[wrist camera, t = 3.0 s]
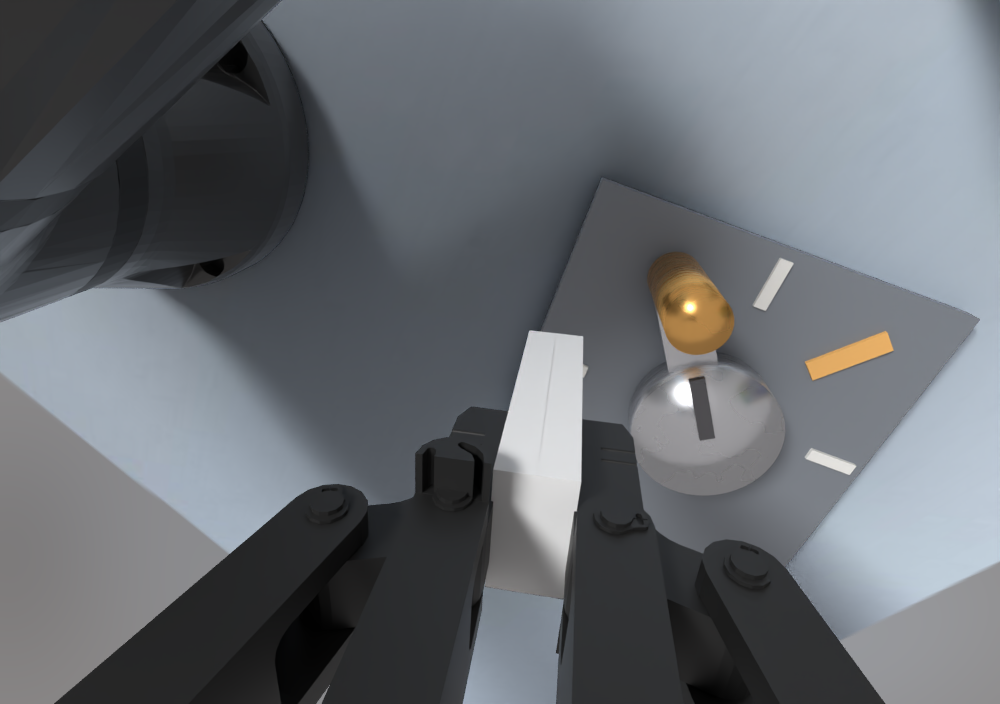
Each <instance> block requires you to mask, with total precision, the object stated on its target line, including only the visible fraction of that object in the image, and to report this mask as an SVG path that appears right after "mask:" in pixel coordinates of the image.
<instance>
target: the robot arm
mask: <svg viewBox="0 0 1000 704" xmlns="http://www.w3.org/2000/svg"><path fill="white" fill-rule="evenodd" d="M280 1H282V0H0V322H3V321H5V320H8V319H11V318H13V317H16V316H19V315H21V314H24V313H27V312H30V311H32V310H35V309H38V308H40V307H43V306H46V305H48V304H51V303H54V302H56V301H59V300H61V299H63V298H66V297H69V296H72V295H74V294H77V293H80V292H83V291H86V290H88V289H91V288H149V289H180V288H190V287H197V286H202V285H206V284H210V283H213V282H217V281H219V280H222V279H224V278H227V277H229V276H231V275H233V274H235V273H237V272H239V271H242V270H244V269H246V268H248V267H250V266H252V265H253V264H255V263H257V262H258V261H260V260H261V259H263V258H264V257H265V256H266V255H268V254H269V253H270V252H271V251H272V250H273V249H274V248H275V247H276V246H277V245H278V244H279V243H280V242H281V240H282V239H283V238H284V236H285V235H286V234H287V232H288V231H289V229H290V227H291V225H292V224H293V222H294V220H295V218H296V215H297V213H298V211H299V208H300V205H301V202H302V199H303V195H304V191H305V187H306V181H307V174H308V160H309V156H308V135H307V128H306V121H305V116H304V112H303V107H302V103H301V100H300V96H299V93H298V90H297V87H296V84H295V81H294V79H293V77H292V74H291V72H290V69H289V67H288V65H287V63H286V61H285V59H284V57H283V55H282V53H281V51H280V49H279V48H278V46H277V44H276V42H275V41H274V39H273V38H272V36H271V35H270V33H269V31H268V30H267V29H266V27H265V26H264V25H263V23H262V22H261V20H262V19H263V18H264V17H265V16H266V15H267V14H268V13H269V12H270V11H271V10H272V9H273V8H274V7H275V6H276V5H277V4H278V3H279V2H280ZM582 388H583V336H576V335H567V334H558V333H549V332H540V331H531V330H529V334H528V338H527V342H526V345H525V349H524V353H523V357H522V361H521V365H520V368H519V372H518V376H517V380H516V384H515V388H514V392H513V395H512V399H511V403H510V407H509V411H502V410H494V409H486V408H478V407H470V408H469V409H467V410H466V411H465V412H463V413H462V414H461V415H459V416H458V418H457V420H456V422H455V425H454V427H453V430H452V432H451V434H450V437H446V438H441V439H436V440H433V441H431V442H429V443H427V444H425V445H423V446H422V447H421V448H420V449H419V450H418V451H417V452H416V453H415V495H414V497H413V498H411V499H408V500H405V501H402V502H397V503H391V504H381V505H369V506H368V500H367V499H366V497H365V496H364V495H363V493H362V492H361V491H359V490H357V489H355V488H353V487H352V486H346V485H340V484H333V485H322V486H319V487H316V488H313V489H310V490H307V491H306V492H304V493H303V494H301V495H299V496H298V497H296V498H295V499H294V500H293V501H291V502H290V503H289V504H288V505H287V506H286V507H284V508H283V509H282V510H281V511H280V512H279V513H277V514H276V515H275V516H274V517H273V518H272V519H270V520H269V521H268V522H267V523H266V524H264V525H263V526H262V527H261V528H260V529H259V530H257V531H256V532H255V533H254V534H253V535H252V536H250V537H249V538H248V539H247V540H246V541H245V542H243V543H242V544H241V545H240V546H239V547H237V548H236V549H235V550H234V551H233V552H232V553H230V554H229V555H228V556H227V557H226V558H225V559H223V560H222V561H221V562H220V563H219V564H218V565H216V566H215V567H214V568H213V569H212V570H210V571H209V572H208V573H207V574H206V575H205V576H203V577H202V578H201V579H200V580H199V581H198V582H197V583H195V584H194V585H193V586H192V587H190V588H189V589H188V590H187V591H186V592H185V593H183V594H182V595H181V596H180V597H179V598H178V599H176V600H175V601H174V602H173V603H172V604H171V605H169V606H168V607H167V608H166V609H165V610H163V611H162V612H161V613H160V614H159V615H158V616H156V617H155V618H154V619H153V620H152V621H151V622H149V623H148V624H147V625H146V626H145V627H144V628H142V629H141V630H140V631H139V632H138V633H136V634H135V635H134V636H133V637H132V638H131V639H129V640H128V641H127V642H126V643H125V644H124V645H122V646H121V647H120V648H119V649H118V650H117V651H115V652H114V653H113V654H112V655H111V656H110V657H109V658H107V659H106V660H105V661H104V662H103V663H101V664H100V665H99V666H98V667H97V668H95V669H94V670H93V671H92V672H91V673H90V674H88V675H87V676H86V677H85V678H84V679H82V681H80V682H79V683H78V684H77V685H76V686H74V687H73V688H72V689H71V690H70V691H68V692H67V693H66V694H65V695H64V696H63V697H61V698H60V699H59V700H58V701H57V702H56V703H54V704H316V703H317V701H318V700H319V699H320V697H321V696H322V694H323V693H324V692H325V691H326V689H327V688H328V686H329V685H330V686H329V688H328V691H327V693H326V695H325V697H324V700H323V702H322V704H462V703H463V699H464V694H465V689H466V684H467V679H468V674H469V669H470V665H471V660H472V655H473V650H474V645H475V640H476V636H477V631H478V626H479V621H480V616H481V611H482V597H483V588H484V584H485V587H489V588H496V589H502V590H508V591H514V592H520V593H526V594H533V595H539V596H545V597H551V598H557V599H564V604H563V610H562V617H561V624H560V630H559V637H558V643H557V650H556V653H557V654H559V660H558V679H557V697H556V704H885V703H884V701H883V700H882V699H881V697H880V696H879V695H878V693H877V692H876V690H874V688H873V687H872V685H871V684H870V682H869V681H868V680H867V678H866V677H865V675H864V674H863V673H862V671H861V670H860V669H859V667H858V666H857V665H856V663H855V662H854V660H853V659H852V658H851V656H850V655H849V654H848V652H847V651H846V650H845V648H844V647H843V645H842V644H841V643H840V641H839V640H838V639H837V637H836V636H835V635H834V633H833V632H832V630H831V629H830V628H829V626H828V625H827V624H826V622H825V621H824V620H823V618H822V617H821V615H820V614H819V613H818V611H817V610H816V609H815V607H814V606H813V605H812V603H811V602H810V600H809V599H808V598H807V596H806V595H805V594H804V592H803V591H802V590H801V588H800V587H799V586H798V584H797V583H796V581H795V580H794V579H793V577H792V576H791V575H790V573H789V572H788V571H787V569H786V568H785V567H784V566H783V565H782V564H781V563H780V562H779V561H778V560H777V559H776V558H775V557H774V556H772V555H771V554H769V553H768V552H766V551H764V550H763V549H761V548H760V547H757V546H754V545H752V544H749V543H746V542H743V541H737V540H728V539H725V540H720V541H715V542H713V543H711V544H710V545H709V546H707V547H706V548H705V550H704V553H700V552H698V551H695V550H692V549H690V548H687V547H685V546H682V545H680V544H678V543H676V542H673V541H671V540H669V539H668V538H666V537H665V536H663V535H662V534H660V533H659V532H658V531H657V530H656V529H655V525H654V523H653V521H652V519H651V516H650V515H649V514H648V513H647V512H646V511H645V510H644V508H643V501H642V494H641V488H640V481H639V474H638V467H637V460H636V455H635V446H634V439H633V437H632V435H631V434H630V433H629V432H628V431H627V429H626V428H625V427H624V426H623V424H616V423H608V422H601V421H593V420H585V419H582ZM485 579H486V581H485Z"/></svg>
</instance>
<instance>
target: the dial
mask: <svg viewBox="0 0 1000 704" xmlns="http://www.w3.org/2000/svg"><path fill="white" fill-rule="evenodd" d="M647 282H648V287H649V290H650V292H651V295H652V298H653V301H654V305H655V310H656V315H657V320H658V326H659V331H660V336H661V341H662V346H663V351H664V356H665V362H663V363H661V364H660V365H658V366H657V367H655V368H654V369H652V370H651V371H650V372H649V373H648V374H647V375H646V376H645V377H644V378H643V379H642V380H641V381H640V383H639V384H638V386H637V387H636V389H635V391H634V393H633V395H632V397H631V400H630V403H629V409H628V422H629V429H630V434H631V435H632V437H633V439H634V446H635V455H636V459H637V461H638V463H639V464H640V466H641V467H642V469H643V470H644V471H645V472H646V473H647V474H648V475H649V476H650V477H651V478H652V479H653V480H655V481H656V482H658V483H659V484H661V485H662V486H665V487H667V488H669V489H671V490H674V491H677V492H680V493H684V494H690V495H702V496H708V495H718V494H723V493H728V492H731V491H734V490H737V489H739V488H742V487H744V486H746V485H748V484H750V483H752V482H753V481H755V480H756V479H758V478H759V477H760V476H761V475H763V474H764V473H765V472H766V471H767V470H768V469H769V468H770V467H771V465H772V464H773V463H774V461H775V460H776V458H777V457H778V455H779V453H780V451H781V449H782V446H783V442H784V437H785V421H784V416H783V413H782V410H781V408H780V406H779V404H778V402H777V400H776V399H775V397H774V396H773V394H772V393H771V391H770V390H769V388H768V387H767V385H766V384H765V382H764V381H763V379H762V378H761V377H760V375H759V374H758V373H757V372H756V371H755V370H754V369H753V368H751V367H750V366H749V365H747V364H746V363H744V362H742V361H740V360H738V359H736V358H734V357H731V356H728V355H724V354H720V353H716V349H718V348H719V347H721V346H722V345H723V344H724V343H725V342H726V341H727V340H728V339H729V337H730V335H731V334H732V331H733V328H734V314H733V311H732V309H731V307H730V305H729V304H728V303H727V301H726V300H725V299H724V297H723V296H722V294H721V293H720V292H719V290H718V289H717V288H716V286H715V285H714V284H713V282H712V281H711V279H710V278H709V277H708V275H707V274H706V273H705V271H704V270H703V269H702V267H701V266H700V265H699V263H698V262H697V261H696V259H695V258H693V257H692V256H691V255H689V254H687V253H683V252H670V253H667V254H664V255H662V256H661V257H659V258H658V259H657V260H655V261H654V263H653V264H652V265H651V267H650V269H649V272H648V276H647Z"/></svg>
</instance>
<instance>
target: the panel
mask: <svg viewBox="0 0 1000 704" xmlns="http://www.w3.org/2000/svg"><path fill="white" fill-rule="evenodd" d="M670 252H683V253H687V254H689V255H691V256H692V257H693V258H695V259H696V261H697V262H698V263H699V265H700V266H701V267H702V269H703V270H704V271H705V273H706V274H707V275H708V277H709V278H710V279H711V281H712V282H713V284H714V285H715V286H716V288H717V289H718V290H719V292H720V293H721V294H722V296H723V297H724V299H725V300H726V301H727V303H728V304H729V305H730V307H731V309H732V311H733V314H734V328H733V331H732V334H731V335H730V337H729V339H728V340H727V341H726V342H725V343H724V344H723V345H722V346H721V347H719V348H718V349H716V353H720V354H724V355H728V356H731V357H734V358H736V359H738V360H740V361H742V362H744V363H746V364H747V365H749V366H750V367H751V368H753V369H754V370H755V371H756V372H757V373H758V374H759V375H760V377H761V378H762V379H763V381H764V382H765V384H766V385H767V387H768V388H769V390H770V391H771V393H772V394H773V396H774V397H775V399H776V400H777V402H778V404H779V406H780V408H781V410H782V413H783V416H784V421H785V437H784V442H783V446H782V449H781V451H780V453H779V455H778V457H777V458H776V460H775V461H774V463H773V464H772V465H771V467H770V468H769V469H768V470H767V471H766V472H765V473H764V474H763V475H761V476H760V477H759V478H758V479H756V480H755V481H753V482H752V483H750V484H748V485H746V486H744V487H742V488H739V489H737V490H734V491H731V492H728V493H723V494H718V495H708V496H702V495H690V494H684V493H680V492H677V491H674V490H671V489H669V488H667V487H665V486H662V485H661V484H659V483H658V482H656V481H655V480H653V479H652V478H651V477H650V476H649V475H648V474H647V473H646V472H645V471H644V470H643V469H642V467H641V466H640V464H639V463H638V461H637V467H638V474H639V481H640V488H641V494H642V501H643V508H644V510H645V511H646V512H647V513H648V514H649V515H650V516H651V519H652V521H653V523H654V525H655V529H656V530H657V531H658V532H659V533H660V534H662V535H663V536H665V537H666V538H668V539H669V540H671V541H673V542H676V543H678V544H680V545H682V546H685V547H687V548H690V549H692V550H695V551H698V552H700V553H704V550H705V548H706V547H707V546H709V545H710V544H711V543H713V542H715V541H720V540H725V539H728V540H737V541H743V542H746V543H749V544H752V545H754V546H757V547H760V548H761V549H763V550H764V551H766V552H768V553H769V554H771V555H772V556H774V557H775V558H776V559H777V560H778V561H779V562H780V563H781V564H782V565H783V566H784V567H786V565H787V564H788V563H789V562H790V560H791V559H792V558H793V557H794V555H795V554H796V553H797V551H798V550H799V549H800V548H801V546H802V545H803V544H804V543H805V541H806V540H807V539H808V538H809V536H810V535H811V534H812V532H813V531H814V530H815V529H816V527H817V526H818V525H819V524H820V522H821V521H822V520H823V518H824V517H825V516H826V515H827V513H828V512H829V511H830V510H831V508H832V507H833V506H834V505H835V503H836V502H837V501H838V499H839V498H840V497H841V496H842V494H843V493H844V492H845V491H846V489H847V488H848V487H849V485H850V484H851V483H852V482H853V480H854V479H855V478H856V477H857V475H858V474H859V473H860V472H861V470H862V469H863V468H864V466H865V465H866V464H867V463H868V461H869V460H870V459H871V458H872V456H873V455H874V454H875V453H876V451H877V450H878V449H879V447H880V446H881V445H882V444H883V442H884V441H885V440H886V439H887V437H888V436H889V435H890V433H891V432H892V431H893V430H894V428H895V427H896V426H897V425H898V423H899V422H900V421H901V420H902V418H903V417H904V416H905V414H906V413H907V412H908V411H909V409H910V408H911V407H912V406H913V404H914V403H915V402H916V401H917V399H918V398H919V397H920V395H921V394H922V393H923V392H924V390H925V389H926V388H927V387H928V385H929V384H930V383H931V381H932V380H933V379H934V378H935V376H936V375H937V374H938V373H939V371H940V370H941V369H942V368H943V366H944V365H945V364H946V362H947V361H948V360H949V359H950V357H951V356H952V355H953V354H954V352H955V351H956V350H957V349H958V347H959V346H960V345H961V343H962V342H963V341H964V340H965V338H966V337H967V336H968V335H969V333H970V332H971V331H972V329H973V328H974V327H975V326H976V324H977V323H978V322H979V321H980V319H979V318H977V317H975V316H973V315H971V314H969V313H967V312H965V311H963V310H960V309H957V308H954V307H952V306H949V305H946V304H944V303H941V302H938V301H936V300H933V299H930V298H927V297H925V296H922V295H919V294H917V293H914V292H911V291H909V290H906V289H903V288H900V287H898V286H895V285H892V284H890V283H887V282H884V281H882V280H879V279H876V278H873V277H871V276H868V275H865V274H863V273H860V272H857V271H855V270H852V269H849V268H846V267H844V266H841V265H838V264H836V263H833V262H830V261H828V260H825V259H822V258H819V257H817V256H814V255H811V254H809V253H806V252H803V251H801V250H798V249H795V248H792V247H790V246H787V245H784V244H782V243H779V242H776V241H774V240H771V239H768V238H765V237H763V236H760V235H757V234H755V233H752V232H749V231H747V230H744V229H741V228H738V227H736V226H733V225H730V224H728V223H725V222H722V221H720V220H717V219H714V218H711V217H709V216H706V215H703V214H701V213H698V212H695V211H693V210H690V209H687V208H684V207H682V206H679V205H676V204H674V203H671V202H668V201H666V200H663V199H660V198H657V197H655V196H652V195H649V194H647V193H644V192H641V191H639V190H636V189H633V188H630V187H628V186H625V185H622V184H620V183H617V182H614V181H612V180H609V179H606V178H603V177H601V180H600V182H599V185H598V187H597V190H596V192H595V195H594V197H593V200H592V202H591V205H590V207H589V210H588V212H587V215H586V217H585V220H584V222H583V225H582V227H581V230H580V232H579V235H578V237H577V240H576V242H575V245H574V247H573V250H572V252H571V255H570V257H569V260H568V262H567V265H566V267H565V270H564V272H563V275H562V277H561V280H560V282H559V285H558V287H557V290H556V292H555V295H554V297H553V300H552V302H551V305H550V307H549V310H548V312H547V315H546V317H545V320H544V322H543V325H542V327H541V330H540V332H549V333H558V334H567V335H576V336H583V388H582V419H585V420H593V421H601V422H608V423H616V424H623V426H624V427H625V428H626V429H627V431H628V432H629V433H630V429H629V422H628V409H629V403H630V400H631V397H632V395H633V393H634V391H635V389H636V387H637V386H638V384H639V383H640V381H641V380H642V379H643V378H644V377H645V376H646V375H647V374H648V373H649V372H650V371H651V370H652V369H654V368H655V367H657V366H658V365H660V364H661V363H663V362H665V356H664V351H663V346H662V341H661V336H660V331H659V326H658V320H657V315H656V310H655V305H654V301H653V298H652V295H651V292H650V290H649V287H648V282H647V276H648V272H649V269H650V267H651V265H652V264H653V263H654V261H655V260H657V259H658V258H659V257H661V256H662V255H664V254H667V253H670ZM508 411H509V410H508ZM636 460H637V459H636Z"/></svg>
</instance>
